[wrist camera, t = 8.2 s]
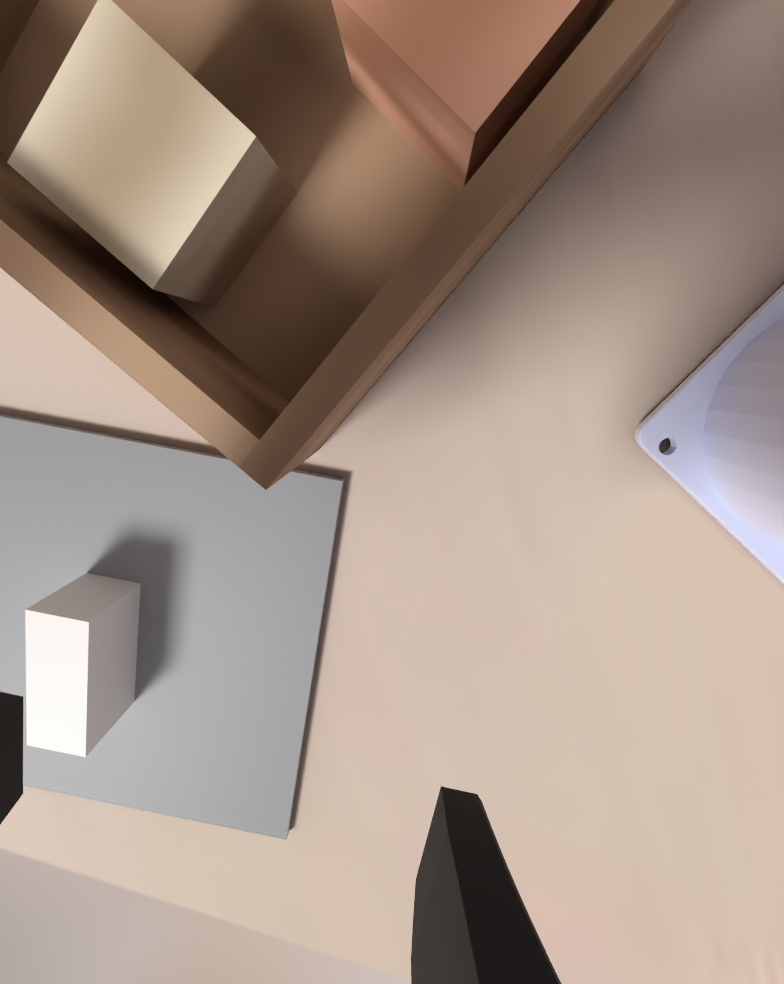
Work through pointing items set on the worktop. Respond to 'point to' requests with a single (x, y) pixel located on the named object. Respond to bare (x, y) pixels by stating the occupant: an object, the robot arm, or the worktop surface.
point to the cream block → (151, 162)
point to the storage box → (293, 214)
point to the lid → (160, 622)
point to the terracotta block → (457, 67)
